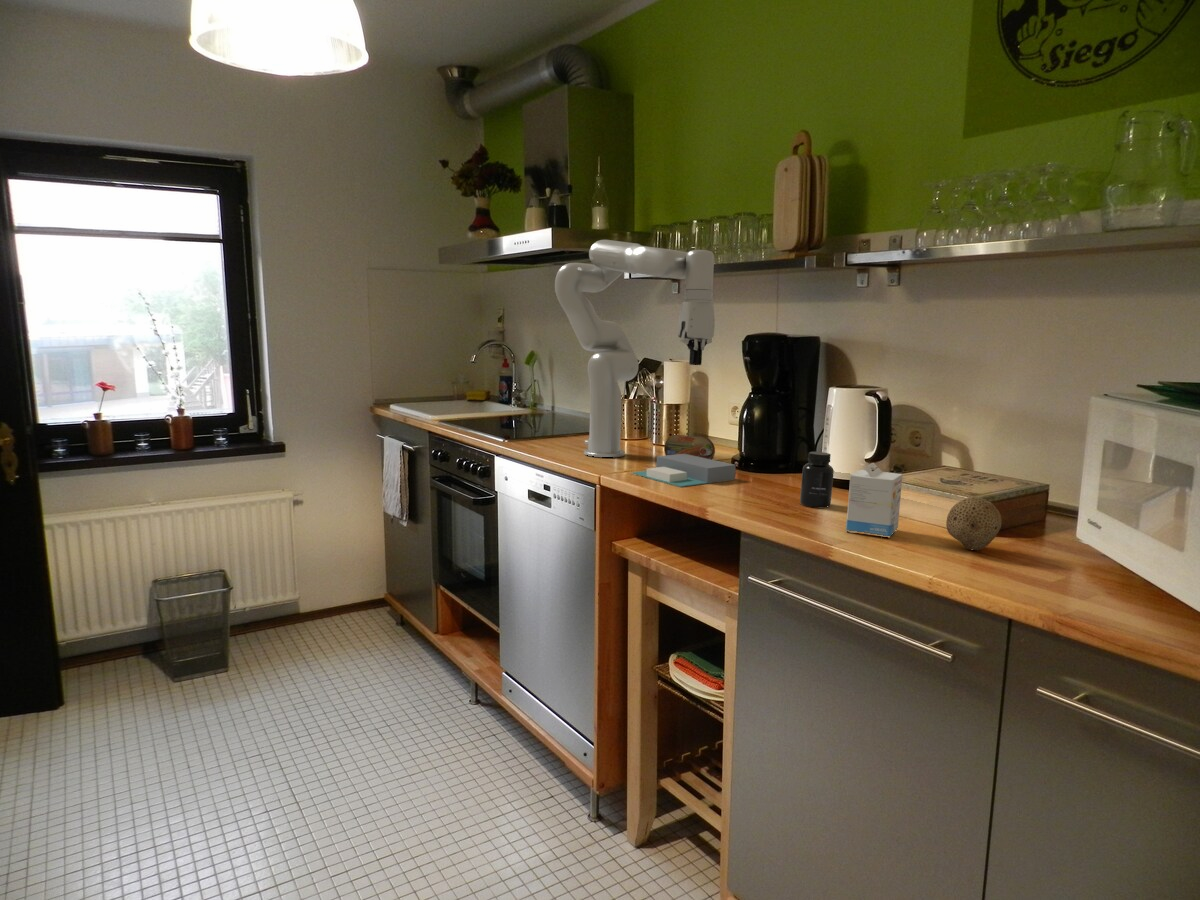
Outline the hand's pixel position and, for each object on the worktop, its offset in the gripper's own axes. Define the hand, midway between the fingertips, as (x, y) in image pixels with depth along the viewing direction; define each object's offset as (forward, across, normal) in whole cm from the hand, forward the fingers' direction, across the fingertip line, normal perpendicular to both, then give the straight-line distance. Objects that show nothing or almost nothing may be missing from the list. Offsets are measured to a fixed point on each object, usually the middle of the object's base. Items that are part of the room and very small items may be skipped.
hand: (695, 364), depth 213 cm
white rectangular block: (+27, +16, +8) cm, 33 cm away
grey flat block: (+29, +6, +8) cm, 31 cm away
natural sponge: (+29, +11, +87) cm, 92 cm away
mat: (+29, +16, +8) cm, 34 cm away
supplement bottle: (+29, +6, +48) cm, 57 cm away
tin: (+29, -5, -6) cm, 30 cm away
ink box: (+29, +15, +69) cm, 76 cm away
